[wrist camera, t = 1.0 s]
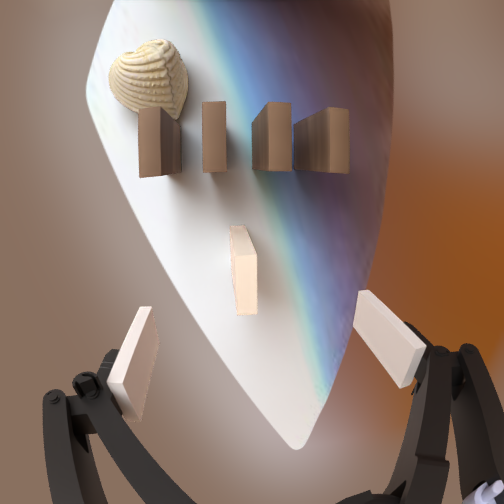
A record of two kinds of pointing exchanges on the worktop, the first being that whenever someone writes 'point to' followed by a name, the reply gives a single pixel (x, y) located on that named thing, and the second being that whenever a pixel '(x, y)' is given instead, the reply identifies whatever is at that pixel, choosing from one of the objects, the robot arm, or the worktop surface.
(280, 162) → the domino
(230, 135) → the worktop surface
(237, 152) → the worktop surface
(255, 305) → the domino
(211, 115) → the domino
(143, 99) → the seashell
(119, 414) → the robot arm
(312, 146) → the domino
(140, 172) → the domino
